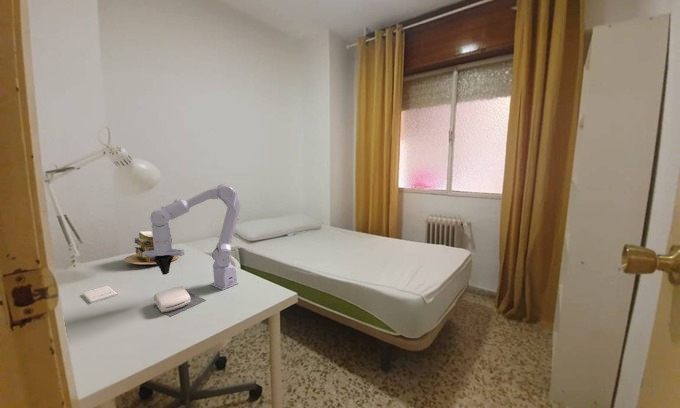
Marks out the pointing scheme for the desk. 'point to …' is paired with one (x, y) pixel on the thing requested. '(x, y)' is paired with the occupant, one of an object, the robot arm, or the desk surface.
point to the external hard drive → (99, 294)
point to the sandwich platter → (144, 249)
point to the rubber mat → (194, 301)
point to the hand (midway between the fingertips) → (165, 273)
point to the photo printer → (172, 299)
